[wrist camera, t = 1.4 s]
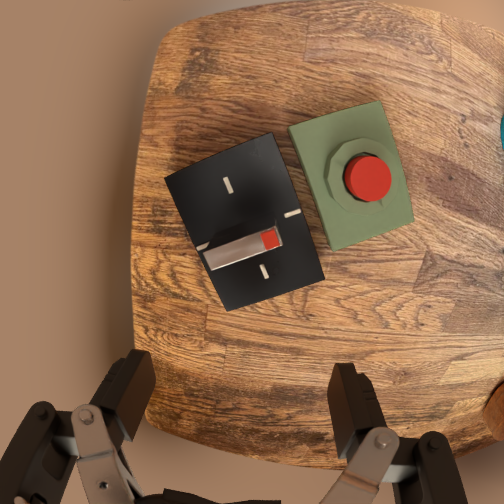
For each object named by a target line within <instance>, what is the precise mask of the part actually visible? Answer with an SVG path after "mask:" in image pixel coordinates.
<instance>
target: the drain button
mask: <svg viewBox="0 0 504 504" xmlns="http://www.w3.org/2000/svg"><path fill="white" fill-rule="evenodd" d="M345 182H346V185H347V187H348V189H349V190H350V192H351V193H353V194H354V195H355V196H357V197H359V198H361V199H363V200H365V201H377V200H380V199H381V198H383V197H384V196H385V195H386V194H387V193H388V191H389V189H390V187H391V182H392V177H391V172H390V169H389V167H388V166H387V164H386V163H385V162H384V161H383V160H381V159H379V158H377V157H373V156H359V157H356V158H354V159H353V160H351V162H350V163H349V164H348V166H347V168H346V170H345Z"/></svg>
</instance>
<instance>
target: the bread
mask: <svg viewBox="0 0 504 504" xmlns="http://www.w3.org/2000/svg"><path fill="white" fill-rule="evenodd" d="M483 419H484V421H485V423H486V424H487V426H488V428H489V429H490V431H491V432H492V434H493V438H494V439H495V440H504V383H503V384H502V385H501V386H500V387H498V389H497V390H496V391H495V392H494V394H493V395H492V397H491V398H490V400H489V402H488V404H487V406H486V408H485V410H484V413H483Z"/></svg>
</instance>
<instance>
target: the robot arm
mask: <svg viewBox="0 0 504 504" xmlns="http://www.w3.org/2000/svg"><path fill="white" fill-rule="evenodd" d="M155 383H156V376H155V372H154V368H153V364H152V359H151V355H150V353H149V351H144V350H138V349H132V350H131V351H130V353H129V354H128V356H127V358H126V359H125V358H120V359H119V360H118V361H116V362H115V363H114V364H113V365H112V367H111V368H110V370H109V371H108V374H107V375H106V376H105V378H104V380H103V381H102V383H101V384H100V386H99V388H98V389H97V391H96V393H95V394H94V396H93V398H92V400H91V401H90V403H89V404H85V405H81V406H79V407H77V408H76V409H75V410H74V411H73V412H69V411H56V410H55V408H54V407H53V405H52V404H51V403H49V402H46V401H41V402H37V403H35V404H34V405H33V406H32V407H31V408H30V410H29V411H28V413H27V414H26V416H25V418H24V419H23V421H22V423H21V424H20V426H19V428H18V429H17V431H16V433H15V435H14V437H13V438H12V440H11V442H10V444H9V446H8V447H7V449H6V451H5V453H4V455H3V457H2V459H1V460H0V504H60V502H61V499H62V496H63V494H64V491H65V488H66V485H67V483H68V480H69V477H70V475H71V472H72V470H73V467H74V465H75V462H76V460H77V467H78V470H79V474H80V477H81V480H82V484H83V487H84V490H85V493H86V496H87V499H88V502H89V504H220V503H216V502H213V501H210V500H207V499H205V498H202V497H199V496H197V495H194V494H191V493H185V492H180V491H175V490H170V489H165V488H164V491H163V494H152V495H147V496H145V494H144V493H143V491H142V489H141V487H140V486H139V484H138V483H137V481H136V479H135V477H134V475H133V472H132V470H131V468H130V466H129V464H128V461H127V459H126V457H125V454H124V451H123V449H122V447H121V445H122V442H123V440H127V441H130V442H132V441H133V439H134V436H135V434H136V431H137V429H138V426H139V424H140V421H141V419H142V416H143V414H144V412H145V409H146V407H147V404H148V402H149V399H150V397H151V395H152V392H153V390H154V387H155ZM327 398H328V404H329V409H330V415H331V420H332V425H333V431H334V436H335V442H336V448H337V454H338V459H344V458H347V464H348V465H347V466H346V468H345V469H344V471H343V472H342V473H341V475H340V476H339V478H338V479H337V481H336V482H335V483H334V485H333V486H332V487H331V489H330V490H329V491H328V493H327V494H326V495H325V497H324V498H323V499H322V500H321V502H320V503H319V504H371V503H372V502H373V500H374V498H375V497H376V495H377V493H378V491H379V488H378V487H379V484H380V483H381V482H392V485H393V491H394V497H395V503H396V504H468V502H467V498H466V495H465V491H464V488H463V484H462V481H461V478H460V475H459V471H458V468H457V465H456V463H455V459H454V456H453V454H452V451H451V448H450V445H449V443H448V440H447V438H446V437H445V436H444V435H443V434H441V433H440V432H436V431H430V432H427V433H425V434H423V435H422V436H421V438H420V439H416V438H404V437H399V436H398V435H397V433H396V432H395V431H393V430H392V429H390V428H388V427H387V425H386V422H385V419H384V416H383V413H382V410H381V407H380V405H379V402H378V399H377V396H376V393H375V392H374V388H373V385H372V383H371V381H370V380H369V379H368V377H367V376H366V375H365V374H364V373H361V374H357V372H356V369H355V366H354V364H353V363H336V364H335V365H334V368H333V372H332V375H331V379H330V382H329V385H328V391H327ZM78 456H80V458H79V459H77V457H78ZM225 504H281V500H274V501H273V500H248V501H241V502H234V503H225Z"/></svg>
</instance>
